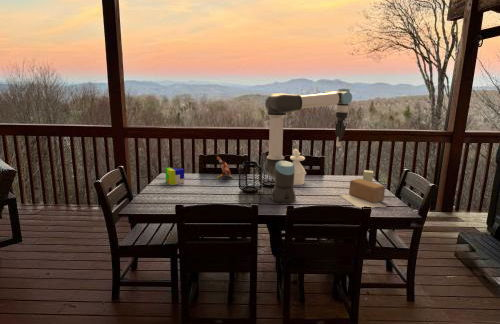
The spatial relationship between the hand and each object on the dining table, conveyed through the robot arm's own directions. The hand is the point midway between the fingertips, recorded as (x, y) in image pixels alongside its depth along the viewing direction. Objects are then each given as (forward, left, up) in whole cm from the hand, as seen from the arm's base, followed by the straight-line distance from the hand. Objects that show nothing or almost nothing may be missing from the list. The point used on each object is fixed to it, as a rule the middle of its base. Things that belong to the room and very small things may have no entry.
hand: (338, 146), depth 229 cm
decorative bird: (-77, -28, -30) cm, 87 cm away
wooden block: (+15, -8, -24) cm, 30 cm away
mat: (+24, -20, -30) cm, 43 cm away
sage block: (+21, +5, -30) cm, 37 cm away
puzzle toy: (-97, -60, -30) cm, 118 cm away
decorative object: (-27, -7, -30) cm, 41 cm away
